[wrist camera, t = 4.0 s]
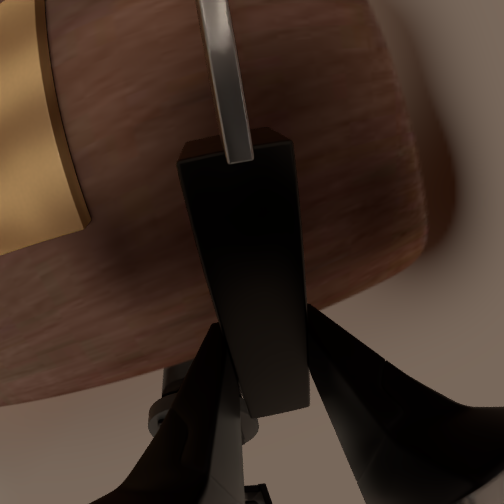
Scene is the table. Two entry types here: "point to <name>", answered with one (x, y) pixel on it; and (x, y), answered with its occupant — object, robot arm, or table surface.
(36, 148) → the board
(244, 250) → the knife
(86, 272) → the table surface
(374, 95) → the table surface
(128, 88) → the table surface
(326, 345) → the robot arm
